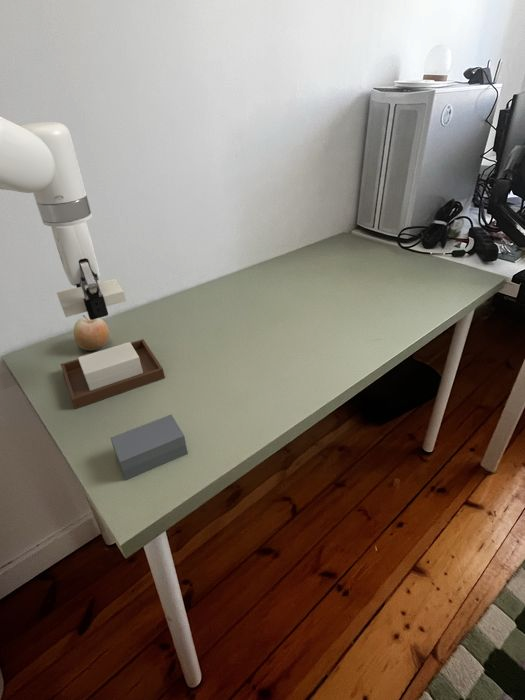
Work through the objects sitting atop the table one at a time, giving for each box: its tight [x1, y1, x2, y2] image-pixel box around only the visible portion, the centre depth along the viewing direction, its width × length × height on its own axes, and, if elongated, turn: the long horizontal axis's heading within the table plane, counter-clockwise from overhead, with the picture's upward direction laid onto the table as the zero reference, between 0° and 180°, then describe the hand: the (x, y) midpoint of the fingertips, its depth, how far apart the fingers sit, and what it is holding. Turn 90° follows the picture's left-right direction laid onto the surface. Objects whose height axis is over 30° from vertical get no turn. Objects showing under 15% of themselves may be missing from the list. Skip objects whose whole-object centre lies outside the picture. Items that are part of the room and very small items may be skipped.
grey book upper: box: [110, 414, 187, 471], centre depth 67 cm, size 10×6×2 cm, turn 120°
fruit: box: [73, 314, 110, 351], centre depth 95 cm, size 8×7×8 cm
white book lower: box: [83, 365, 143, 391], centre depth 87 cm, size 10×7×2 cm, turn 120°
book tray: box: [60, 338, 166, 410], centre depth 87 cm, size 17×13×2 cm
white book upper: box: [77, 341, 141, 383], centre depth 85 cm, size 10×7×2 cm, turn 120°
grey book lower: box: [112, 444, 188, 481], centre depth 69 cm, size 10×6×2 cm, turn 120°
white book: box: [56, 278, 127, 318], centre depth 78 cm, size 10×7×2 cm, turn 120°
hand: (94, 308), depth 79 cm, fingers closed on white book, 6 cm apart
